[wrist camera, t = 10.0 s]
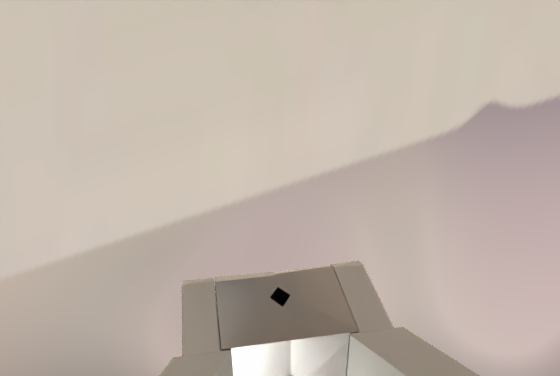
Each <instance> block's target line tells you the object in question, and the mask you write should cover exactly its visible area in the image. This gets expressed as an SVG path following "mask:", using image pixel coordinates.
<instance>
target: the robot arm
mask: <svg viewBox="0 0 560 376" xmlns="http://www.w3.org/2000/svg"><path fill="white" fill-rule="evenodd" d="M215 291H216V295H215ZM216 302H217V305H216ZM217 313H218V315H217ZM159 376H479V375H478V374H476V373H475V372H473V371H471V370H470V369H468V368H467V367H465V366H464V365H462V364H461V363H459V362H457V361H456V360H454V359H452V358H451V357H449V356H448V355H446V354H444V353H443V352H441V351H440V350H438V349H437V348H435V347H434V346H432V345H430V344H429V343H427V342H425V341H424V340H423V339H421V338H420V337H418V336H416V335H415V334H413V333H412V332H410V331H408V330H407V329H405V328H404V327H399V328H394V327H393V325H392V322H391V320H390V318H389V316H388V314H387V312H386V310H385V308H384V306H383V304H382V302H381V300H380V298H379V296H378V294H377V292H376V290H375V288H374V286H373V284H372V282H371V280H370V278H369V276H368V274H367V272H366V270H365V268H364V265H363V264H362V263H361V262H359V261H353V262H345V263H339V264H331V265H330V266H320V267H313V268H304V269H295V270H288V271H279V272H269V273H257V274H247V275H236V276H224V277H215V285H214V279H213V278H207V279H197V280H186V281H183V284H182V356H181V357H175V358H172V360H171V361H170V362H169V363H168V365H167V366H166V367H165V369H164V370H163V371H162V372H161V374H160V375H159Z"/></svg>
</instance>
